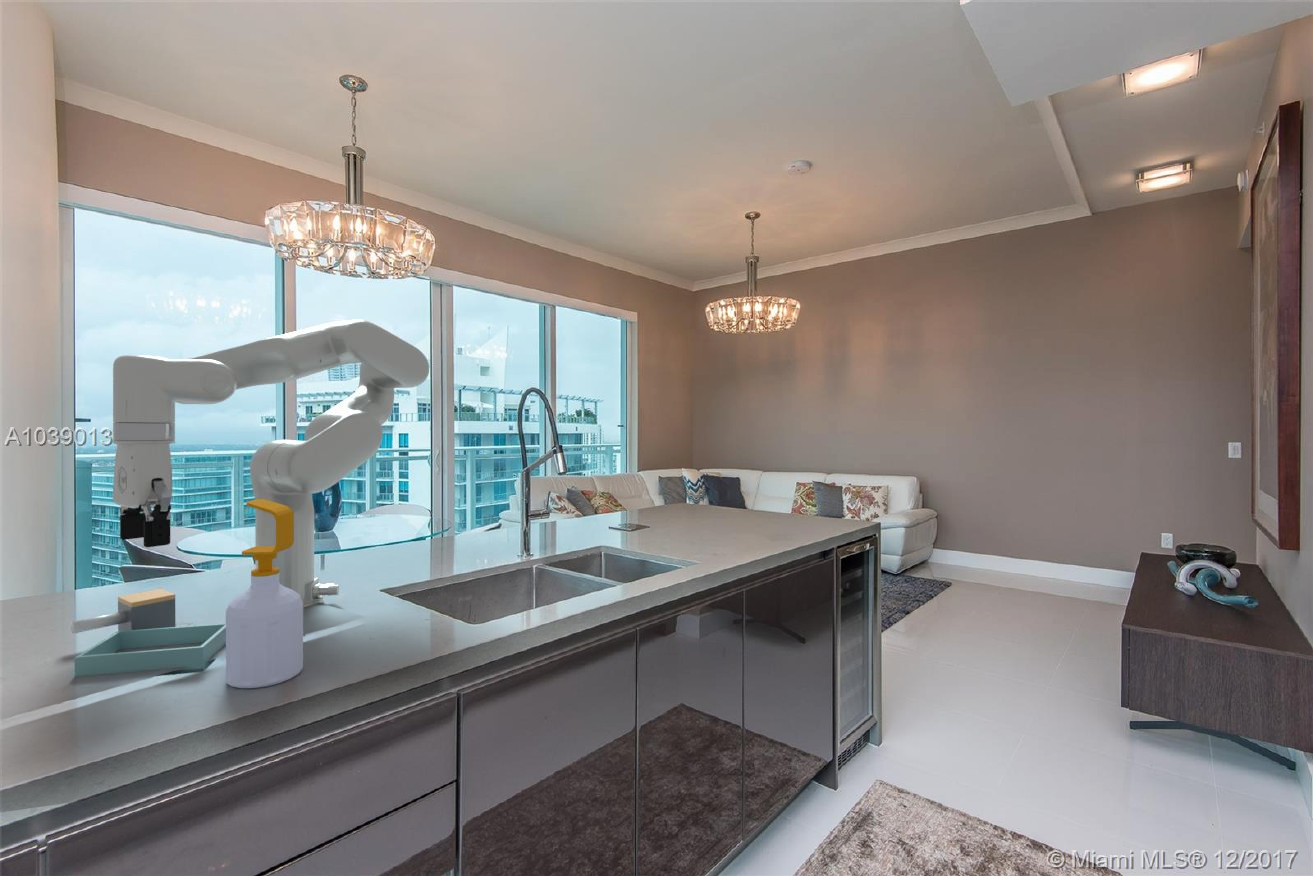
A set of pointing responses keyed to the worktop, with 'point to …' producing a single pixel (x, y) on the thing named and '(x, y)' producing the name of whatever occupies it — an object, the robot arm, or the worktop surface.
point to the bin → (196, 658)
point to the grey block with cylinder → (135, 613)
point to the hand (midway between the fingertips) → (144, 542)
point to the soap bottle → (265, 616)
